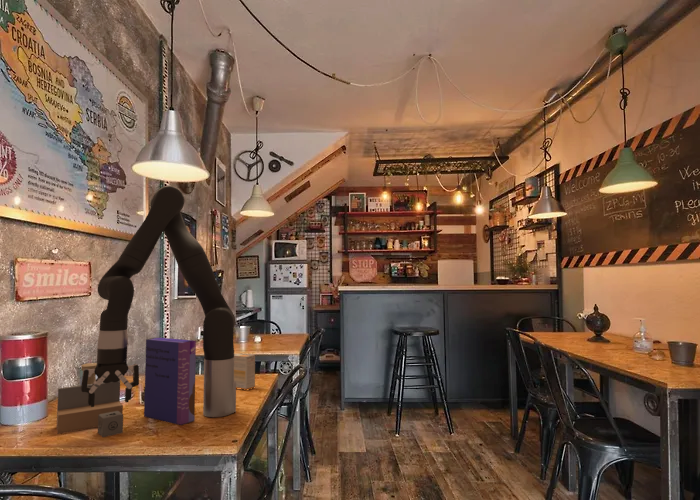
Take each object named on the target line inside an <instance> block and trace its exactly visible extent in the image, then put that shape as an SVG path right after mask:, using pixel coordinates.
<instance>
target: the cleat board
mask: <svg viewBox="0 0 700 500" xmlns="http://www.w3.org/2000/svg"><path fill="white" fill-rule="evenodd" d="M91 385H92V384H88V385H87V387H91ZM94 393H95V400H94V407H91V405H89V404H88V393H87V392H82V391H81V385H73V386H67V387H58V389H57V408H56V432H57V434H58V435H60V434H64V433H71V432H77V431H81V430H87V429H93V428H98V415H99V414H104V413H109V412H114V411H119V412H120V413H122V414H123V410H124V405H123V404H122V402H121V401H120V400H121V399H120V398H121V380H120V381H118V382H110V383H103V382H102V383H101V385H100V386H99V387H98V388H97V389H96V390H95V391H94ZM123 415H124V414H123ZM59 433H60V434H59Z"/></svg>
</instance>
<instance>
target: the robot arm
mask: <svg viewBox="0 0 700 500" xmlns="http://www.w3.org/2000/svg"><path fill="white" fill-rule="evenodd" d="M184 205H185V196H184V193H183V192H182V191H181V190H180V189H179V187H176V186H174V185H166V186H165V185H164V186H162V187H160V188H159V189H157V190H156V192H155V193H154V194H153V196H152V198H151V200H150V209H149V211H148V213H147V215H146V217H145V218H144V220H143V222H142V223H141V225H140V226H139V228H138V229H137V230H136V232H135V233H134V235H133V236H132V237H131V238H130V240H129V242H128V244H127V245H126V246H125V248H124V250H123V251H122V253H121V254H120V256H119V257H118V260H117V261H116V262H115V263H114V264H113V265H111V267H110V268H109V269H108V270H107V271H106V272H105V274H104V275H102V277H101V279H100V280H99V282H98V285H97V293H98V296H99V297H100V298H101V299H102V300H105V301H106V300H107V307H106V309H104V310H102V311H101V313H100V316H99V317H100V318H99V332H98V338H97V349H96V352H97V353H96V354H97V355H96V363H97V365H96V368H95V369H87V368H85V369H84V370H83V371H82V376H81V391H82V392H87V393H88V404H89V405H91V407H94V400H95V393H94V391H95V390H96V389H97V388H98V387H99V386H100V385H101V383H110V382H118V381H120V382H122V383H123V385H124V386H126V387H125V391H124V394H125V395H124V402H125V403H129V401H130V400H131V399H132V393H133V392H132V390H133V388H135V387H138V386H139V385H140V371H139V367H140V366H139V365H138V364H137V363H134V364H131V365H128V363H127V362H128V346H129V333H128V323H129V321H128V320H129V319H128V318H129V317H128V316H129V312H130V310H131V307H132V303H133V299H134V294H135V286H134V284H133V281H132V280H131V278H132V277H133V276H135V275H138V274H139V273H140V272H141V271H142V270H143V268H144V266H145V265H146V264H147V262H148V260H149V258H150V257H151V255H152V253H153V251H154V249H155V247H156V245H157V244H158V241H159V239H160V237H161V236H162V234H164V235H165V237H166V240H167V242H168V245H169V247H170V250H171V252H172V255H173V256H174V259H175V262H176V264H177V266H178V269H179V270H180V272H181V275H182V277H183V278H184V280H185V282H186V283H187V285H188V286H189V288H190V289H191V291H192V292H193V293H194V295H195V296H196V298H197V299H198V301H199V303H200V305H201V309H202V311H203V313H204V319H203V323H202V324H203V325H202V332H203V333H202V348H203V397H202V399H203V402H202V403H203V404H202V410H203V411H202V412H203V413H202V414H203V415H202V416H205V417H207V418H221V417H225V416H229V415H231V414H234V412H235V413H236V411H237V389H236V382H235V381H234V355H235V345H234V332H235V331H234V327H235V325H236V317H235V314H234V312H233V311H232V310H231V307H230V306H229V304H228V303H227V301H226V300H225V297H224V295H223V294H222V292H221V290H220V288H219V285H218V281H217V278H216V276H215V273H214V270H213V268H212V265H211V263H210V261H209V258H208V256H207V253H206V252H205V249H204V248H203V246H202V245H201V243H199V241H198V240H197V239H196V238H195V237H194V235H193V234H192V233H191V232H190V231H189V229H188V227H187V225H186V223H185V221H184V218H183V215H182V212H181V211H182V210H183V207H184ZM128 371H130V372H131V373H132V381H131V382H129V380H128V379H127V377H125V375H126V373H127V372H128ZM92 373H95V374H96V380H95V381H94V383H93V384H92V385H91V387H87V383H88V377H91V375H92Z"/></svg>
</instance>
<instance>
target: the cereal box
mask: <svg viewBox="0 0 700 500" xmlns="http://www.w3.org/2000/svg"><path fill="white" fill-rule="evenodd" d="M196 351H197V340H192V339H182V338H181V339H180V338H167V337H151V338H147V339H145V362H144V363H145V369H144V401H143V402H144V404H143V408H144V410H143V416H144V418H147V419H152V420H157V421H161V422H164V423H168V424H172V425H178V426H184V425H187V424H190V423H193V422H195V420H196V419H195V417H196V415H195V414H196V413H195V411H196V409H195V407H196V364H197V362H196V360H197V358H196V357H197V356H196Z"/></svg>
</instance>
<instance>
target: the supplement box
mask: <svg viewBox="0 0 700 500" xmlns="http://www.w3.org/2000/svg"><path fill="white" fill-rule="evenodd" d="M234 381H235V382H236V388H241V389H245V390H244V391H246V390H247V389H251V388H254V387H255V388H256V355H255V354H251V353H249V354H248V353H236V354H235V353H234ZM255 388H254V389H255ZM251 390H252V389H251ZM247 391H248V390H247Z"/></svg>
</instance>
